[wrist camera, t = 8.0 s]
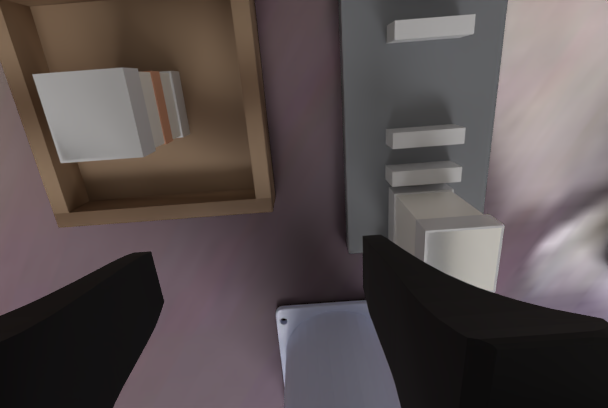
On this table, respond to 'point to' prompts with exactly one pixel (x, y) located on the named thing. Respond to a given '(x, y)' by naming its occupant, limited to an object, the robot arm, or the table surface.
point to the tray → (145, 57)
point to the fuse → (446, 232)
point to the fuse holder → (416, 101)
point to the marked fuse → (112, 112)
